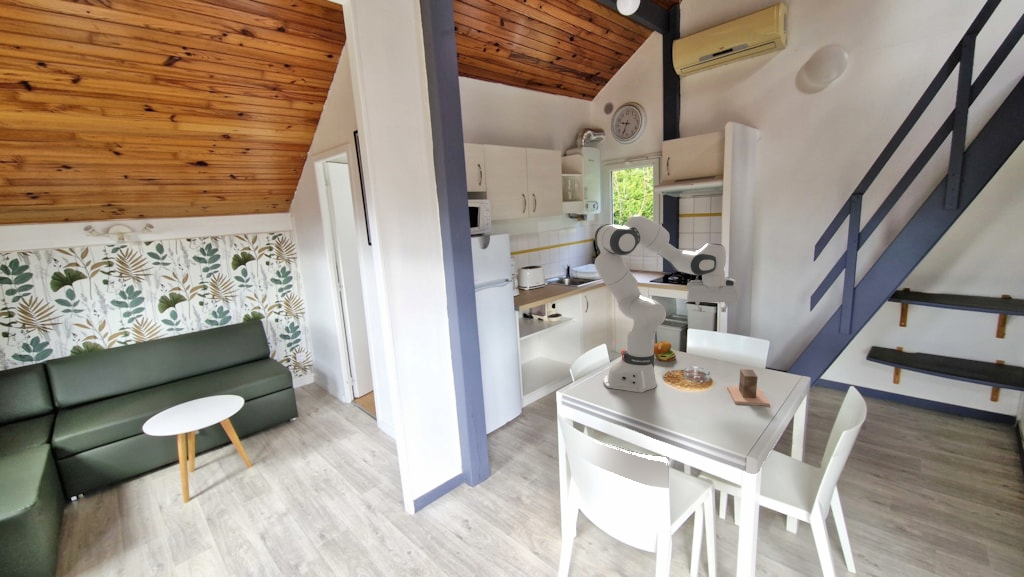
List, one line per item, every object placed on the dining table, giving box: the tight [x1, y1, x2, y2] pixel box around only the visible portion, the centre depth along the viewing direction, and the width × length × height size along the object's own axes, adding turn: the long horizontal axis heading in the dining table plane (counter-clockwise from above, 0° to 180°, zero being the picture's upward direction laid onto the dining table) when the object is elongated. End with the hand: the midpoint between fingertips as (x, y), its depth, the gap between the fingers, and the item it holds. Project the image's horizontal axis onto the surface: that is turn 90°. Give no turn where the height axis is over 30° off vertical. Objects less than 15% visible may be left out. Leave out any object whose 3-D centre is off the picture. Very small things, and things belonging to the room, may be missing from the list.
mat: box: [726, 385, 771, 407], centre depth 172 cm, size 12×14×1 cm
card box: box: [738, 368, 758, 398], centre depth 171 cm, size 4×7×9 cm, turn 164°
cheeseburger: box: [654, 340, 677, 363], centre depth 214 cm, size 10×11×10 cm
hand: (711, 311), depth 189 cm, fingers open, 8 cm apart
